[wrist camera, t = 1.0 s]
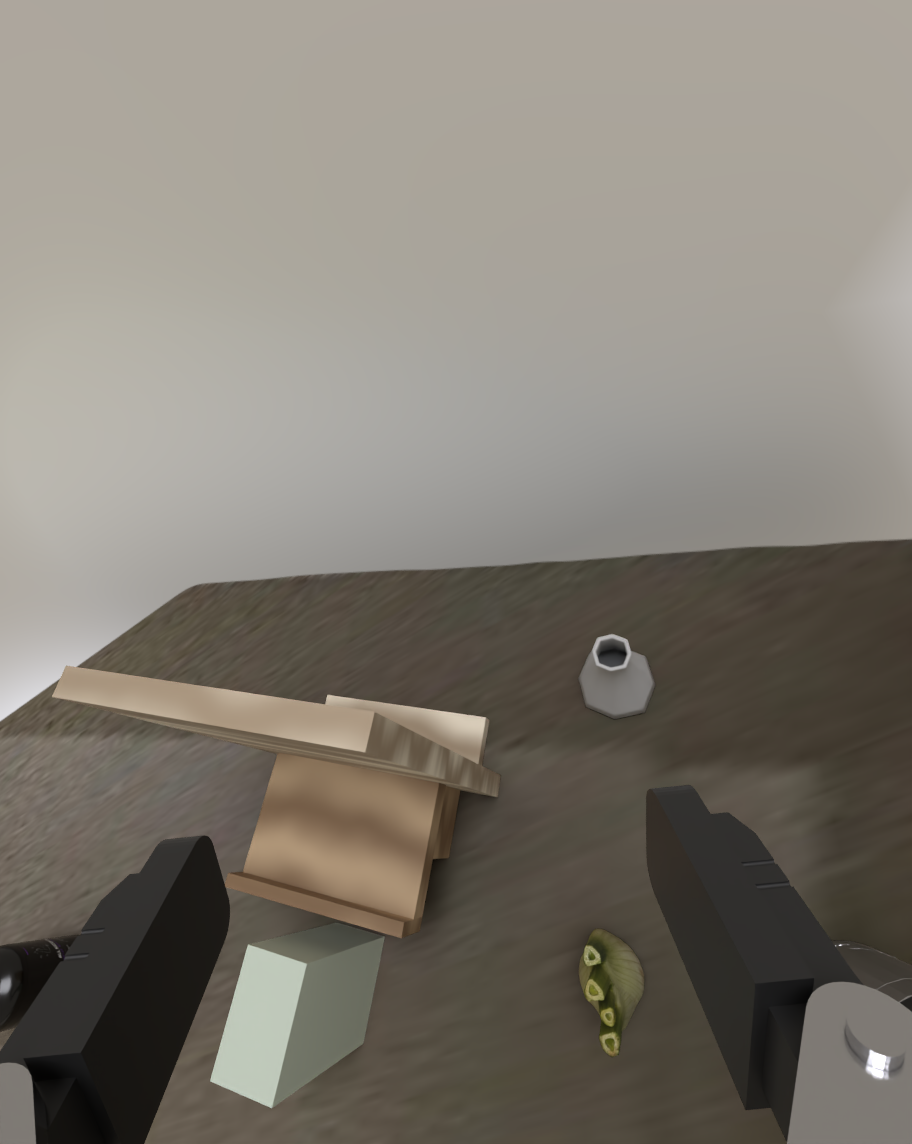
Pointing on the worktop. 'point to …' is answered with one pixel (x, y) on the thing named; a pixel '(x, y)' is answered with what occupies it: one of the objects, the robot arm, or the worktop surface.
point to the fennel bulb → (611, 984)
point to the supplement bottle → (27, 974)
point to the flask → (616, 679)
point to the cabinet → (297, 1010)
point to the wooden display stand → (328, 789)
